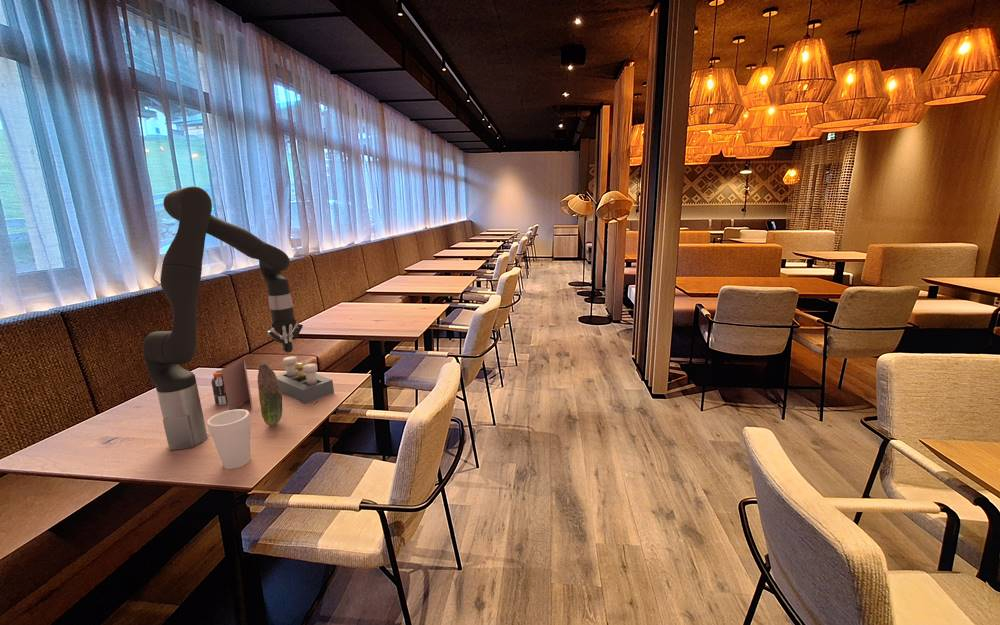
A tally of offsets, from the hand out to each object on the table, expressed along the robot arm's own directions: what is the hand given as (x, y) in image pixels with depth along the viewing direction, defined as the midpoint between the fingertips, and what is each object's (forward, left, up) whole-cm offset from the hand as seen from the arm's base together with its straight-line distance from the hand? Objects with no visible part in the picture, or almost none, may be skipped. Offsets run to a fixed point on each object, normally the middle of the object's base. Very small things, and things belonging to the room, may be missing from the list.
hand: (288, 351), depth 164 cm
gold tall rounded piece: (-6, -5, -10) cm, 12 cm away
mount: (-6, -5, -14) cm, 16 cm away
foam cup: (-52, +3, -14) cm, 54 cm away
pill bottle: (-8, +21, -14) cm, 26 cm away
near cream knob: (-11, -9, -10) cm, 17 cm away
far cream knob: (0, 0, -10) cm, 10 cm away
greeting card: (-13, +12, -14) cm, 22 cm away
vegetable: (-31, -1, -14) cm, 34 cm away
